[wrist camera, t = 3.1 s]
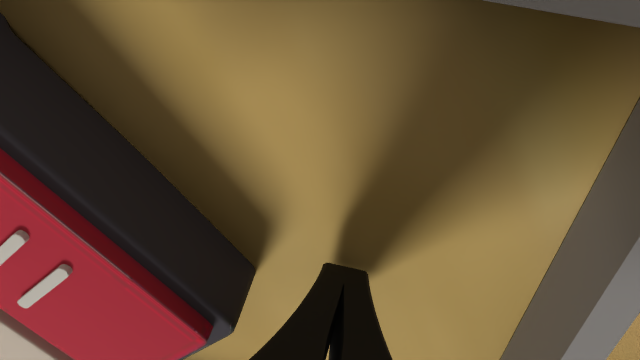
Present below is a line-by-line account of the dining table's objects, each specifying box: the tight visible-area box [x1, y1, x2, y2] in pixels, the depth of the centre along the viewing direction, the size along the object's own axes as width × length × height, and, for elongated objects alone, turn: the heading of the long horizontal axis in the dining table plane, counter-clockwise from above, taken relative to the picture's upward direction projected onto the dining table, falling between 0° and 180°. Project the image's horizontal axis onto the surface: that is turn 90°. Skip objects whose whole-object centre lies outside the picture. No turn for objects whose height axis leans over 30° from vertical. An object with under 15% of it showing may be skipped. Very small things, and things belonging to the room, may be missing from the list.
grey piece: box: [484, 0, 640, 360], centre depth 14 cm, size 25×20×2 cm
